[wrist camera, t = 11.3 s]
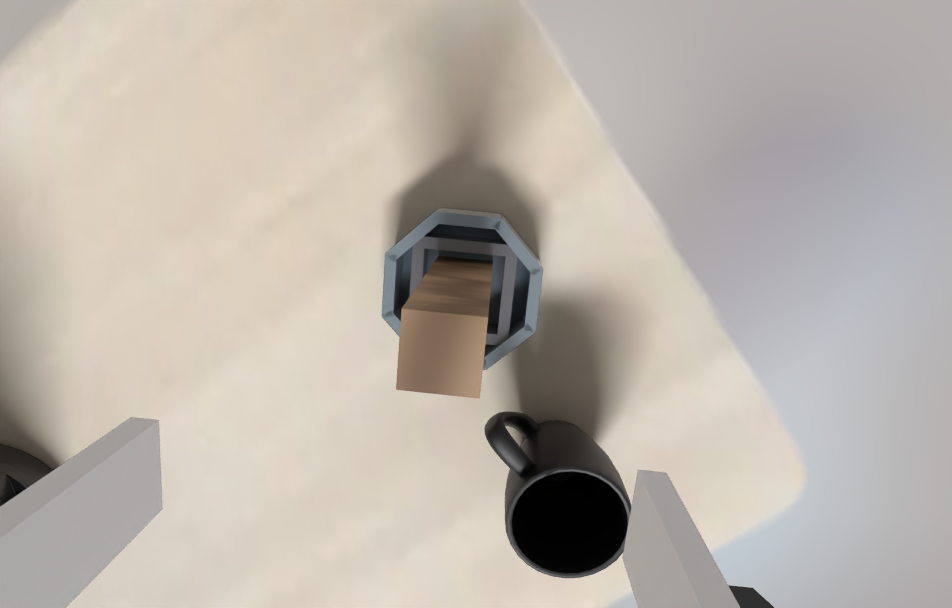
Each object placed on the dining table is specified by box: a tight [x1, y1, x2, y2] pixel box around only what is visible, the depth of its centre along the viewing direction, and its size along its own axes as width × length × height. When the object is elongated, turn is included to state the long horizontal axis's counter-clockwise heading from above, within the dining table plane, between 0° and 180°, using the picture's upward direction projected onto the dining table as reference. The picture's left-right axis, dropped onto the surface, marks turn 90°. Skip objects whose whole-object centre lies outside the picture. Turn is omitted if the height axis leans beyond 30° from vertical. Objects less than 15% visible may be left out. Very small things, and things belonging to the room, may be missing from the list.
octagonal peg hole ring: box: [382, 208, 543, 370], centre depth 41 cm, size 11×11×4 cm
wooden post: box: [396, 256, 493, 398], centre depth 35 cm, size 4×4×16 cm
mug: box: [485, 412, 631, 578], centre depth 41 cm, size 8×12×10 cm
